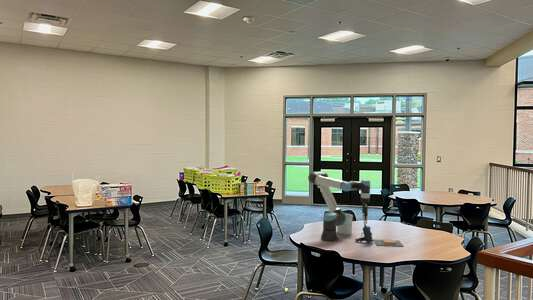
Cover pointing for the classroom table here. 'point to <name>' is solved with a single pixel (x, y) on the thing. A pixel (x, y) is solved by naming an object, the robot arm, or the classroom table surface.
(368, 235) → the gun
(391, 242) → the tile
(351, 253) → the classroom table surface
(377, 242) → the mat
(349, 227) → the utensil holder
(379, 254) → the classroom table surface
